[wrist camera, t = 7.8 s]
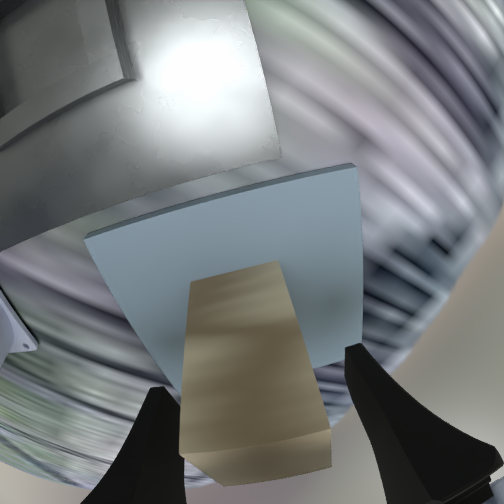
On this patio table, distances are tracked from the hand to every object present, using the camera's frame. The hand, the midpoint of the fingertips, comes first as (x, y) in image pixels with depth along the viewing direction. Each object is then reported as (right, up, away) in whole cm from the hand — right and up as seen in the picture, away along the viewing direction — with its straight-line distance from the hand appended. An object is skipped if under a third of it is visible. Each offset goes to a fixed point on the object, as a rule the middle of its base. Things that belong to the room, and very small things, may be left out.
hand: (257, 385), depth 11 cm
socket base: (-9, +14, -3) cm, 17 cm away
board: (-1, +2, +4) cm, 5 cm away
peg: (-1, +3, +3) cm, 4 cm away
